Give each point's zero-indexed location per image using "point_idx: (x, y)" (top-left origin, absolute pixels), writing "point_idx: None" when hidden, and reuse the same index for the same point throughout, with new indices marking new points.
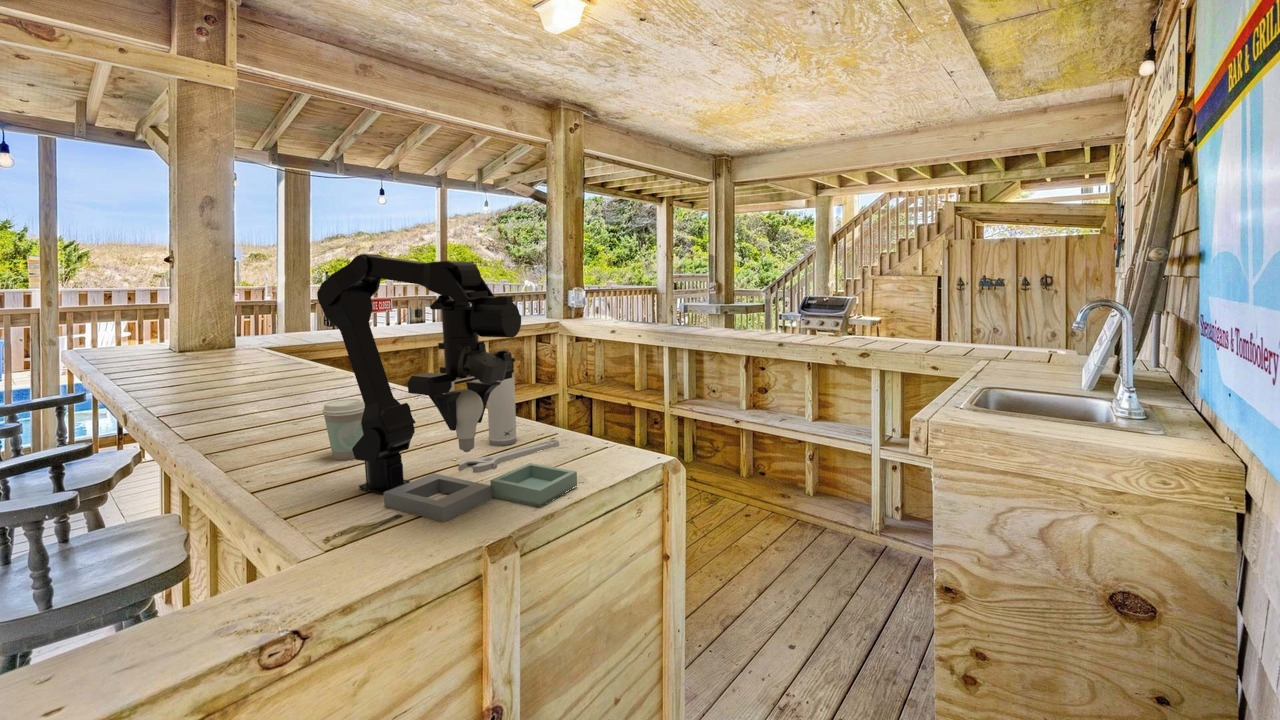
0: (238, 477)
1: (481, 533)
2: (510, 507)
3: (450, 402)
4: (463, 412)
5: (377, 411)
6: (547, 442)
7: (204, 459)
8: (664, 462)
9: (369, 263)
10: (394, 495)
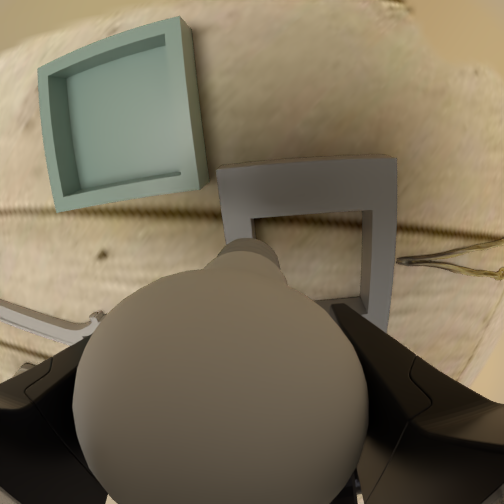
0: (358, 496)
1: (375, 41)
2: (231, 84)
3: (479, 408)
4: (335, 324)
5: None
6: None
7: None
8: None
9: None
10: (388, 316)
